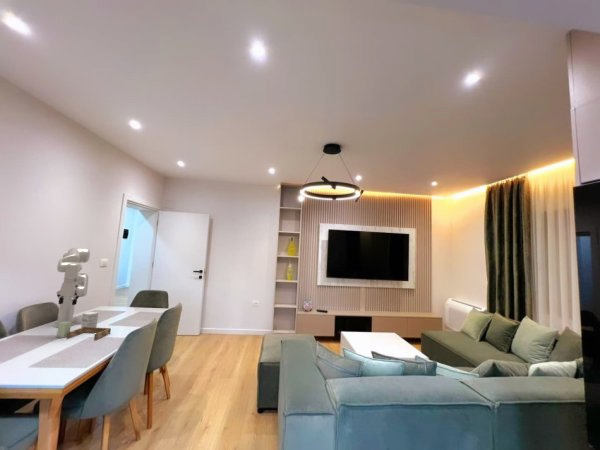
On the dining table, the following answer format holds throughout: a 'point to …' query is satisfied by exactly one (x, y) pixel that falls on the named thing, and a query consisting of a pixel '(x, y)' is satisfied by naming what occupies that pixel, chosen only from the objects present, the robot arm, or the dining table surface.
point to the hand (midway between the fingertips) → (67, 304)
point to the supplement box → (89, 319)
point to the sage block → (63, 329)
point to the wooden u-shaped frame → (99, 332)
